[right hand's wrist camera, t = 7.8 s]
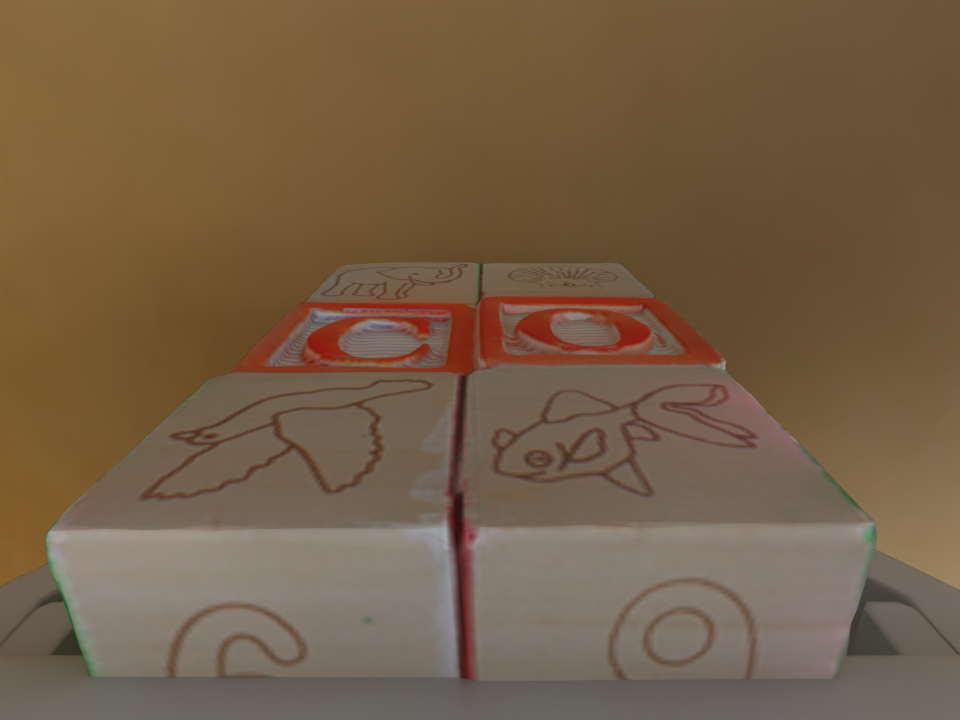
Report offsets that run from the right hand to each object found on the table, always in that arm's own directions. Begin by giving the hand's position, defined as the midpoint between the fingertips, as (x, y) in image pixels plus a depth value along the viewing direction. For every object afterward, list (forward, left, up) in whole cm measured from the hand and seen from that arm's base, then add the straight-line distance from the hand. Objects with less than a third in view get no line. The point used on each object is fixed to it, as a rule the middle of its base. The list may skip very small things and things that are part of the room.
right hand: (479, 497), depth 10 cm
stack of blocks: (0, +7, -4) cm, 8 cm away
